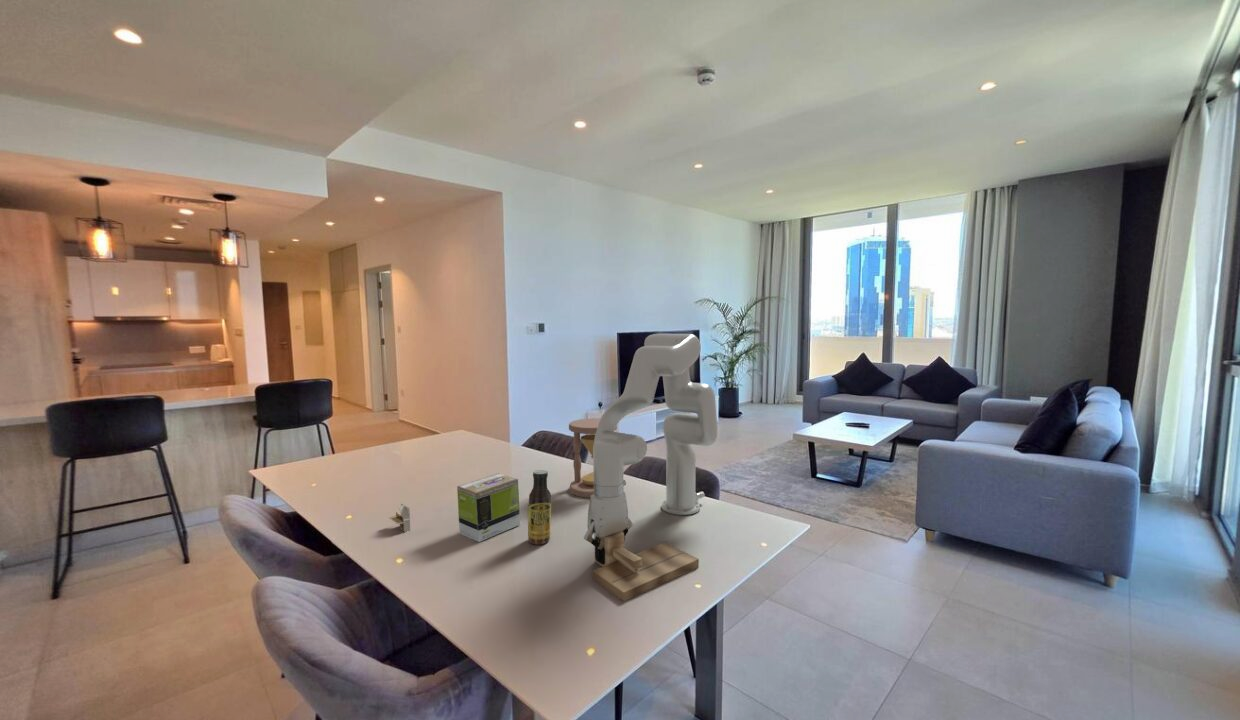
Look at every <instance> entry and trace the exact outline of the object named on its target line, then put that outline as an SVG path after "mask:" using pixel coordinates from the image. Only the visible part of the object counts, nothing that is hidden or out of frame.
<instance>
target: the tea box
mask: <svg viewBox="0 0 1240 720" xmlns="http://www.w3.org/2000/svg"><path fill="white" fill-rule="evenodd" d="M456 488H457V505H458V506H457V508H458V511H457V512H458V525H459V526H458V527H459V529H458V530H459V534H460V535H462V534H463V535H462V536H464V535H465V536H464V537H466V536H467V538H468V539H471V540H472V541H475V542H477V543H481V542H482V541H485V540H488V539H490V538H492V537H495V536H497V535H498V534H502V533H504V532H507V531H508V530H511V529H513V528H515V527H518V526H521V512H520V510H521V509H520V493H519V479H518V478H516V477H513V476H507V475H504V474H503V473H502V474H501V473H495V474H491V475H489V476H486V477H482V478H478V479H475V480H471V481H469V482H466V483H463V484H460V485H458V486H456Z"/></svg>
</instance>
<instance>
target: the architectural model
mask: <svg viewBox="0 0 1240 720" xmlns="http://www.w3.org/2000/svg"><path fill="white" fill-rule="evenodd" d="M398 510H399V512H400V514H399V513H398V512H397V511H396V512H395V515H392V516H389V517H388V519H389V520H391V521H392V522H394V524H396V525H399V527H400V529H401V531H402V532H403V533H404V532H405V533H408V532H410V531H411V513H410V511H411V510H410V507H409V506H407V505H406V504H404V503H403V502H402V503H400V505H398ZM407 531H408V532H407Z"/></svg>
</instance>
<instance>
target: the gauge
mask: <svg viewBox="0 0 1240 720" xmlns="http://www.w3.org/2000/svg"><path fill="white" fill-rule="evenodd" d="M594 535H595V532H594V534H593V536H594ZM599 539H600V538H599ZM598 542H599V540H598ZM593 548H594V552H593V553H594V554H595V546H594V547H593ZM603 548H604V549H605V564H603V565H602V564H601V563H599V562H598V561H596V559H595V558H594V563H596V564H597V565H599V566H601V567H603V566H606V565H608V564H611V563H614V562H616V561H621V562H622V563H624V564H626V565H627V566H629V567H630V568H632V569H634V571H637V570H638V568H640V567H642V558H640V557H639V556H637V555H635V554H636V553H634V552H631V551H629V550H628V549H626V548H625V540H624V533H622V532H617V533H615V534H612V535H609V536H606V537H604V544H603Z"/></svg>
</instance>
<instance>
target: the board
mask: <svg viewBox="0 0 1240 720" xmlns="http://www.w3.org/2000/svg"><path fill="white" fill-rule="evenodd" d="M634 554H635V555H637V556H639V557H640V558H642V567H640V568H638V570H637V571H634V569H632V568H630V567H629V566H627V565H626V564H624V563H622V562H621V561H616V562H614V563H611V564H608V565H606V566H603V567H602V566H601V567H597V568H596V569H594V570H592V580H593V581H595V582H596V583H597V584H599V585H601V586H602V587H603V588H604V589H606V590H607V591H609V592H611V593H612V594H613V595H615V597H617V598H618V599H620V600H621V601H623V602H625V601H628V600H630V599H631V598H634V597H636V596H638V595H641V594H643V593H645V592H647V591H649V590H652V589H653V588H655V587H658V586H660V585H662V584H665V583H666V582H668V581H671V580H673V579H675V578H677V577H679V576H682V575H684V574H686V573H688V572H690V571H693V570H695V569H697V568H699V567H700V565H699V563H700V561H699V560H700V559H699V558H697V557H696V556H694V555H691V553H687V552H686V551H685V550H682V549H680V548H678V547H676V546H674V545H672V544H671V543H670V544H669V543H668V542H666V541H665V542H662V543H660V544H657V545H655V546H652V547H650V548H648V549H645V550H644V549H643V550H642V551H640V552H637V553H634Z"/></svg>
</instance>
